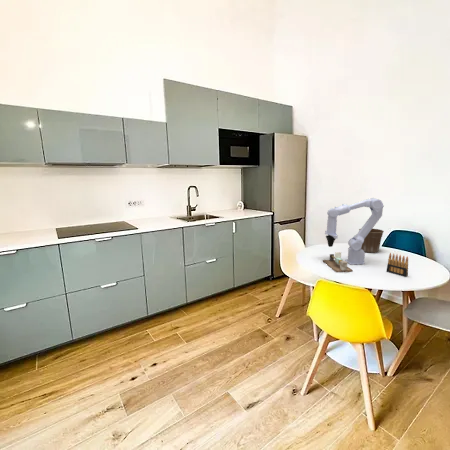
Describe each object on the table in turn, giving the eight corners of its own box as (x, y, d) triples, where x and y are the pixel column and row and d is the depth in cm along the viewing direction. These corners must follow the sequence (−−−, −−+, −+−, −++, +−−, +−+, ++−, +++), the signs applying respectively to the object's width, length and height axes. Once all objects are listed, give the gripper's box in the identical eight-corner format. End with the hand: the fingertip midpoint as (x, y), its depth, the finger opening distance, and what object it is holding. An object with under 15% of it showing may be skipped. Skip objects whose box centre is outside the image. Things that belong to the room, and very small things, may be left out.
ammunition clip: (386, 271, 155) (388, 252, 153) (387, 271, 156) (389, 251, 154) (406, 277, 147) (408, 256, 144) (407, 276, 148) (410, 256, 145)
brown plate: (337, 261, 176) (337, 252, 175) (352, 271, 157) (353, 262, 156) (322, 261, 176) (323, 253, 175) (336, 272, 156) (336, 262, 155)
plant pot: (362, 246, 208) (363, 227, 205) (384, 250, 196) (386, 229, 193) (354, 251, 198) (355, 230, 194) (377, 255, 186) (379, 233, 183)
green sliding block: (340, 261, 166) (340, 252, 164) (343, 263, 162) (343, 254, 160) (334, 262, 165) (335, 252, 164) (337, 264, 161) (338, 254, 160)
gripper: (321, 224, 179) (320, 243, 181) (330, 228, 164) (329, 249, 167) (331, 224, 179) (330, 243, 182) (341, 228, 165) (339, 249, 167)
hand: (330, 246), depth 174 cm, fingers closed
